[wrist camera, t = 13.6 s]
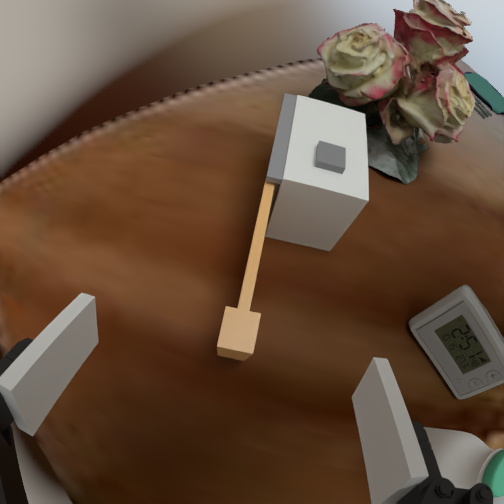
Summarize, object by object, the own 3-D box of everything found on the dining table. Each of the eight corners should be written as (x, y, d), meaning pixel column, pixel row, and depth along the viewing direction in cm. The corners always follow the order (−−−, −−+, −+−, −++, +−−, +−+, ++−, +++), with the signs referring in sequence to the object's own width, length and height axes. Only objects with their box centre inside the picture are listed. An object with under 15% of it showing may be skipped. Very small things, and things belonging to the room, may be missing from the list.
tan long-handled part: (243, 361, 34) (252, 353, 25) (217, 355, 34) (216, 346, 25) (271, 225, 41) (285, 180, 32) (248, 220, 41) (257, 173, 32)
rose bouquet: (282, 117, 52) (320, -41, 24) (364, 74, 62) (406, -31, 34) (397, 215, 46) (513, 75, 19) (452, 144, 56) (522, 48, 28)
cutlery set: (512, 113, 72) (516, 109, 70) (486, 126, 64) (490, 120, 62) (475, 74, 78) (477, 70, 76) (439, 78, 70) (442, 73, 68)
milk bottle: (388, 419, 34) (501, 427, 15) (429, 430, 33) (540, 435, 15) (365, 471, 31) (466, 515, 12) (408, 480, 30) (512, 511, 12)
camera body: (329, 251, 42) (372, 195, 29) (253, 234, 42) (268, 168, 29) (335, 167, 48) (367, 104, 35) (271, 151, 48) (287, 81, 35)
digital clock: (400, 319, 39) (447, 298, 30) (439, 292, 42) (485, 267, 32) (442, 414, 34) (493, 414, 24) (478, 379, 36) (527, 371, 27)
